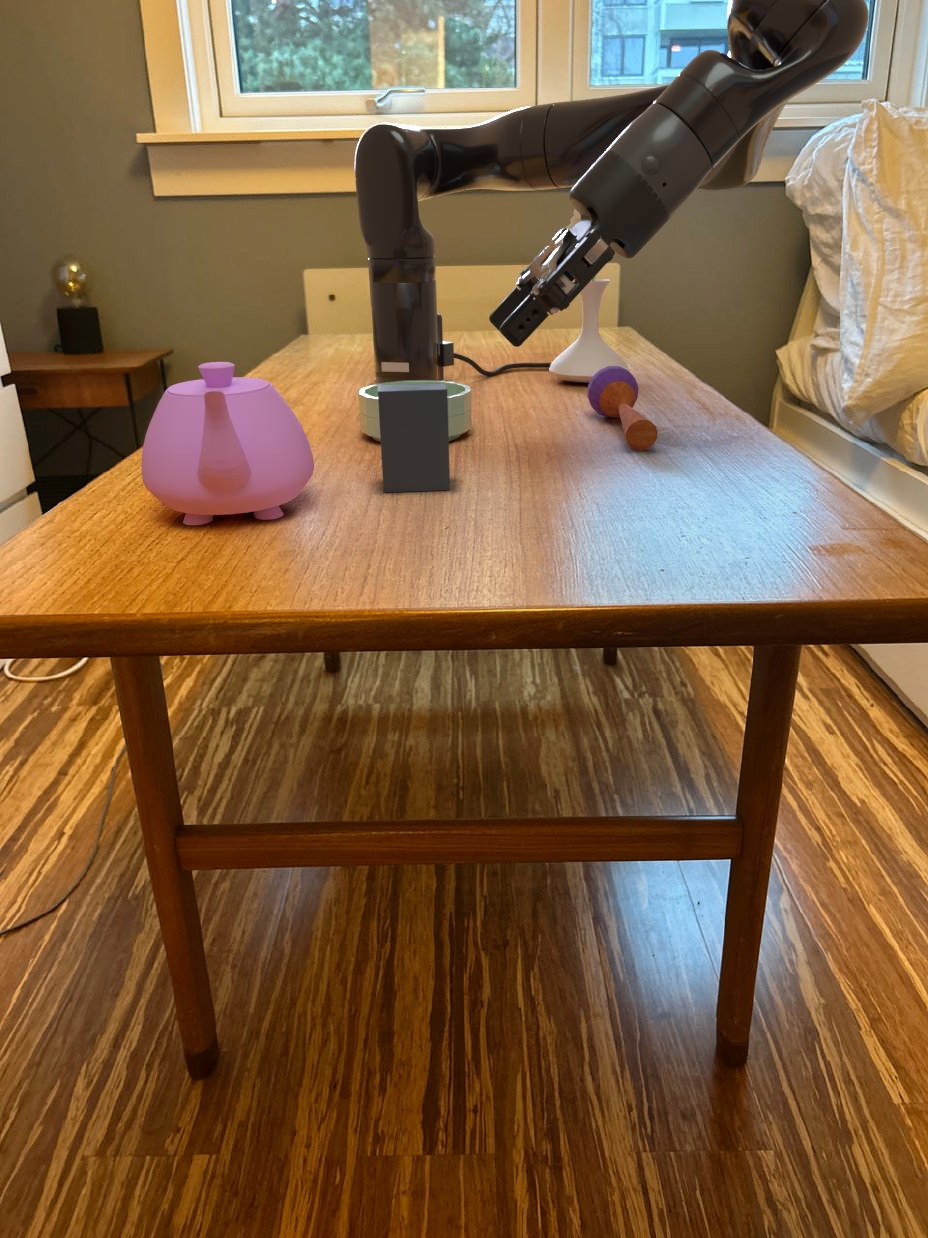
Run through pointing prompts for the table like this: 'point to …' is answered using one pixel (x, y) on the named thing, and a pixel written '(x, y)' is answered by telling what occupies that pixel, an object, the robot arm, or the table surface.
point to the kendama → (621, 405)
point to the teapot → (225, 448)
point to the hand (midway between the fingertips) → (501, 333)
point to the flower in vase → (586, 337)
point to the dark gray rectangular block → (414, 437)
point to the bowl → (456, 391)
